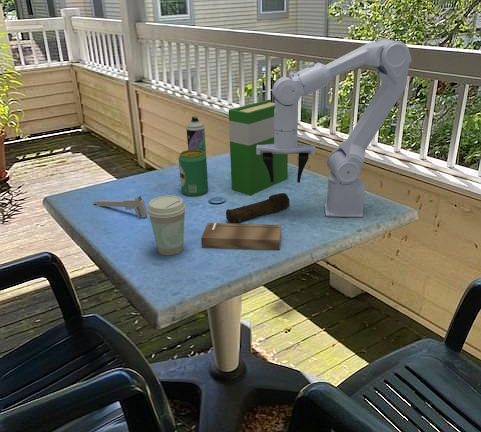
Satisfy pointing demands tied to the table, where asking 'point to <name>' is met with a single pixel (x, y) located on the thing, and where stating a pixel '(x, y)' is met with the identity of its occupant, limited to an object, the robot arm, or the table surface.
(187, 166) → the green can
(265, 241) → the walnut board
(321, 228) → the table surface
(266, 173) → the hardback book
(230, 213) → the dark brown rod
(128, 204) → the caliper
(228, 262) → the table surface
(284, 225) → the table surface
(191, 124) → the spray can
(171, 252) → the coffee cup
